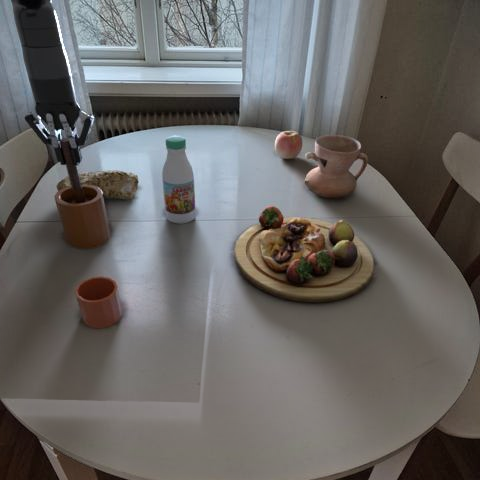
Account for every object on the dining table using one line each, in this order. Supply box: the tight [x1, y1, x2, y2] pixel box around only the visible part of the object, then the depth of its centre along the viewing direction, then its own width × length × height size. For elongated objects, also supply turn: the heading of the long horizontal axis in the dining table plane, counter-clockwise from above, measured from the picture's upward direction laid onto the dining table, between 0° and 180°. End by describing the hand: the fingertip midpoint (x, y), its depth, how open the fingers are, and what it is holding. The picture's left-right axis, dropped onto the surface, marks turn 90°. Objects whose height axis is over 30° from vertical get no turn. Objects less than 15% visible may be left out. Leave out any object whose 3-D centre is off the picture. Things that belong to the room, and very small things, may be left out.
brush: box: [60, 137, 89, 204], centre depth 94 cm, size 4×4×19 cm
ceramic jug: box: [304, 134, 369, 199], centre depth 120 cm, size 18×14×14 cm
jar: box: [54, 184, 112, 250], centre depth 100 cm, size 10×10×11 cm
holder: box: [74, 275, 123, 329], centre depth 81 cm, size 7×8×7 cm
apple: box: [274, 130, 303, 160], centre depth 140 cm, size 9×9×8 cm
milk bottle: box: [161, 135, 196, 224], centre depth 105 cm, size 8×8×20 cm
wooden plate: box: [233, 205, 375, 303], centre depth 97 cm, size 32×32×8 cm
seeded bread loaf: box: [55, 169, 140, 200], centre depth 116 cm, size 13×8×20 cm
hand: (71, 163), depth 91 cm, fingers closed on brush, 2 cm apart
